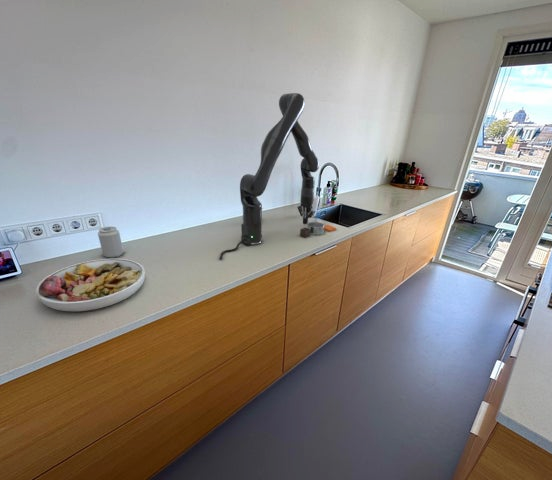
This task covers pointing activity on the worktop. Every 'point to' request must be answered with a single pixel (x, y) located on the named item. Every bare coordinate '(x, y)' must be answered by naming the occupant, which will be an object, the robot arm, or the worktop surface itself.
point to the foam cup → (315, 204)
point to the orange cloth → (329, 228)
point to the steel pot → (316, 228)
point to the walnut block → (305, 232)
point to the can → (110, 242)
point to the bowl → (91, 284)
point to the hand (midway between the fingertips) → (305, 223)
